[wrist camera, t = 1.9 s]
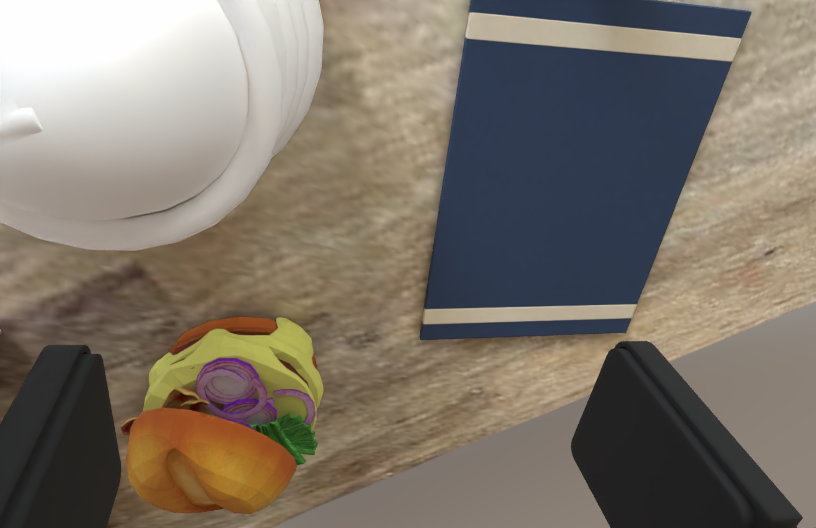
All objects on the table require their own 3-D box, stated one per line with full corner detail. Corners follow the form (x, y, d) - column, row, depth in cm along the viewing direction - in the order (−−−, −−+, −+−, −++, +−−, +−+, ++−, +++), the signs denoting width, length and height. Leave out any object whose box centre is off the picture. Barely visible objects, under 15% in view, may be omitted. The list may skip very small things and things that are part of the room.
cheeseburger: (363, 359, 36) (353, 511, 29) (253, 417, 41) (220, 562, 33) (243, 270, 31) (192, 428, 24) (132, 347, 35) (59, 501, 28)
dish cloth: (473, -20, 26) (476, -19, 25) (746, 10, 29) (752, 11, 29) (419, 336, 36) (420, 340, 36) (623, 329, 40) (626, 333, 39)
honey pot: (106, 187, 27) (-105, 512, 13) (-87, -118, 20) (-1115, -212, 5) (353, 107, 28) (437, 332, 13) (248, -223, 21) (156, -589, 6)
